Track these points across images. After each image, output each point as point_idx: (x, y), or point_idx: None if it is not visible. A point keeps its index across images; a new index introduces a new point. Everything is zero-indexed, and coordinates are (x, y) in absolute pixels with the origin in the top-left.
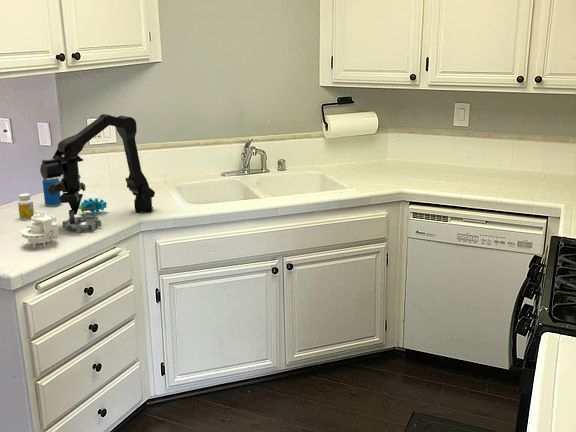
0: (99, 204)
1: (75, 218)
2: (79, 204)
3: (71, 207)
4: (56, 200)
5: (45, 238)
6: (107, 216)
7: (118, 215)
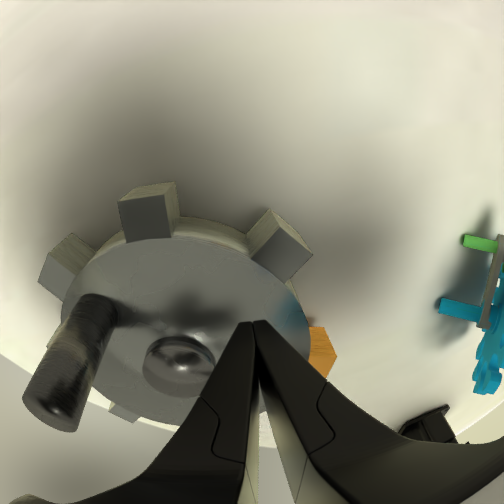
0: (485, 353)
1: (246, 301)
2: (283, 462)
3: (203, 400)
4: None
5: None
6: (410, 362)
7: (404, 391)
